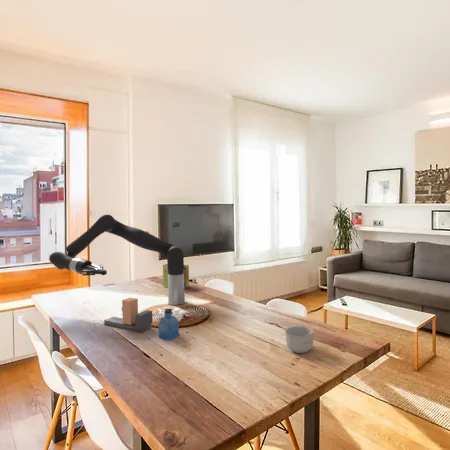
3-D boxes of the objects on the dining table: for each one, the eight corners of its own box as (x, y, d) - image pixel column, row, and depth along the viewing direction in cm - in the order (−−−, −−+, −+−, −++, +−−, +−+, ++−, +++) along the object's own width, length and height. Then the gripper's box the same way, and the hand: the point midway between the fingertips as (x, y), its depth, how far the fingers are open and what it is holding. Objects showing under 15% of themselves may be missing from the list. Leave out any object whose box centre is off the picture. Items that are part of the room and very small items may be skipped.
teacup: (307, 358, 128) (308, 337, 128) (280, 352, 134) (280, 331, 134) (319, 345, 140) (319, 325, 140) (293, 339, 146) (293, 321, 145)
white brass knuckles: (193, 319, 174) (167, 325, 165) (176, 310, 188) (151, 316, 180) (193, 312, 174) (167, 318, 165) (175, 304, 188) (151, 309, 179)
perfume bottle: (178, 335, 152) (178, 308, 152) (170, 340, 147) (170, 312, 146) (167, 333, 155) (166, 306, 154) (158, 338, 149) (158, 310, 149)
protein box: (179, 289, 232) (179, 266, 231) (162, 286, 240) (162, 264, 239) (189, 286, 241) (189, 264, 240) (172, 283, 249) (172, 262, 248)
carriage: (120, 322, 162) (120, 299, 162) (128, 319, 167) (127, 297, 166) (130, 324, 159) (130, 301, 159) (138, 321, 164) (137, 298, 163)
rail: (102, 324, 166) (102, 308, 165) (115, 319, 173) (114, 304, 173) (141, 333, 155) (140, 315, 154) (152, 327, 162) (152, 310, 161)
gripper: (69, 262, 171) (94, 269, 163) (90, 256, 182) (115, 261, 175) (70, 277, 173) (95, 284, 165) (91, 269, 184) (115, 275, 176)
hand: (105, 272), depth 170 cm, fingers closed
